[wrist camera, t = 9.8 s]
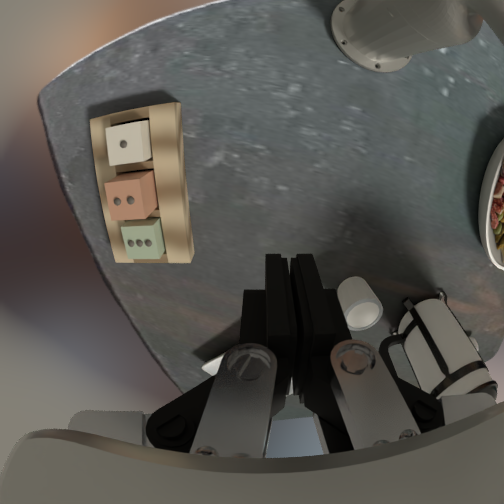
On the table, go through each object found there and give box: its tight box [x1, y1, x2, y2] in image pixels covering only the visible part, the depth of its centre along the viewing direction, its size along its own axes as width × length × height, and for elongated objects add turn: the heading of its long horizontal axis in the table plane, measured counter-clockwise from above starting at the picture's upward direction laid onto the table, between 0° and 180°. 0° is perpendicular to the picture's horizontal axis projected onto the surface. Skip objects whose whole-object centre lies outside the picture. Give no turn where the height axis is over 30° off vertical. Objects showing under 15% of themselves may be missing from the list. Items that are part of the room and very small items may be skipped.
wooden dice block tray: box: [90, 102, 195, 263], centre depth 36 cm, size 23×13×3 cm, turn 1°
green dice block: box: [121, 217, 166, 259], centre depth 39 cm, size 5×5×5 cm
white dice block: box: [105, 120, 153, 166], centre depth 32 cm, size 5×5×5 cm
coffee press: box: [378, 292, 498, 400], centre depth 36 cm, size 17×16×30 cm
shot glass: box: [337, 276, 383, 331], centre depth 43 cm, size 7×7×7 cm
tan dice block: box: [104, 170, 158, 221], centre depth 33 cm, size 5×5×5 cm
